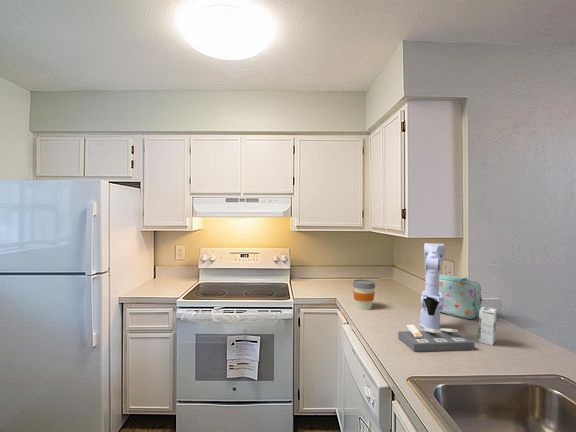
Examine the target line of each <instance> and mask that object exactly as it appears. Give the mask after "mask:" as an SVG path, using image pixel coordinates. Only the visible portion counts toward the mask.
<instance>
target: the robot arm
mask: <svg viewBox="0 0 576 432" xmlns="http://www.w3.org/2000/svg"><path fill="white" fill-rule="evenodd" d="M445 248H446V245H445V243H432V242H430V243H429V242H425V243H424V245H423V255H424V256H423V257H424V273H425V281H424V283H425V284H424V286H425V287H424V290H422V291H421V297H420V306H421V309H420V313H419V322H418V324H417V325H419V326H420V327H422V328H423V330H424V329H435V330H441V329H440V328H441V312H440V309H441V310H443V294H442V293H441V292H440V291H439V275H440V271H441V270H442V269H441V264H442V263H443V262H444V260H445V254H446V252H445V251H446V249H445Z"/></svg>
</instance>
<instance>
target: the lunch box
mask: <svg viewBox="0 0 576 432" xmlns="http://www.w3.org/2000/svg"><path fill="white" fill-rule="evenodd" d="M467 278H468V277H466V276H465V277H458V276H452V275H446V274H439V291H440V292H441V293H442V294H443V310H441V309H440V313H443V314H446V315H449V316H451V317H458V318H462V319H468V320H473V319H475V318H476V317H477V316H478V315H479V314H478V313H479V310H480V309H481V308H482V307H481V305H482V303H484V299H483V297H482V288H481V284H480V282H478V281H477V280H476V279H473V280H469V279H470V278H468V279H467ZM477 314H478V315H477ZM476 315H477V316H476Z"/></svg>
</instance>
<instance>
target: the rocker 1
mask: <svg viewBox="0 0 576 432" xmlns="http://www.w3.org/2000/svg"><path fill="white" fill-rule="evenodd" d="M406 328H407V330H408V331H410V332H411V333H412V334H413V336H414V337H415V338H422V337H423V336H422V335H421V333H420V332H419V331H420V330H419V329H418V328H417V327H416V326H415V324H406Z"/></svg>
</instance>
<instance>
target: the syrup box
mask: <svg viewBox="0 0 576 432" xmlns="http://www.w3.org/2000/svg"><path fill="white" fill-rule="evenodd" d="M497 310H498V309H495V308H492V307H487V306H482V307H481V308H480V310H479V314H478V329H477V330H478V332H477V333H478V335H477V342H478V343H480V344H485V345H490V346H494V344H495V342H496V329H497V328H496V327H497Z"/></svg>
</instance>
